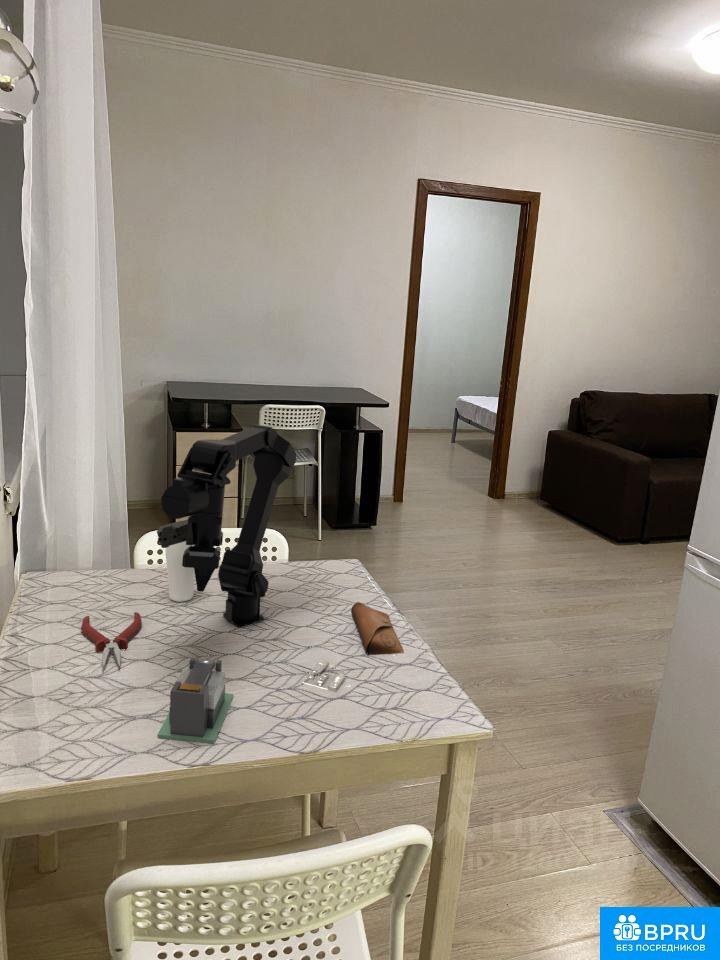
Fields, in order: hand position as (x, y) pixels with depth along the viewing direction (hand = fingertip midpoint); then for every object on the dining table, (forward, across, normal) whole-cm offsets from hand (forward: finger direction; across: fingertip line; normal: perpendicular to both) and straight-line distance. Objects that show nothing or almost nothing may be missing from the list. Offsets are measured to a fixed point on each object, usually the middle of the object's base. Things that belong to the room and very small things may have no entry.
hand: (200, 590), depth 133 cm
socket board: (+15, +19, +2) cm, 24 cm away
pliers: (+14, -5, -18) cm, 23 cm away
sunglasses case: (+11, -9, +36) cm, 39 cm away
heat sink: (+14, +19, +2) cm, 24 cm away
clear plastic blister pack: (+13, +8, +24) cm, 29 cm away
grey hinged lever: (+7, +16, +2) cm, 17 cm away
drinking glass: (+11, -25, -5) cm, 28 cm away
